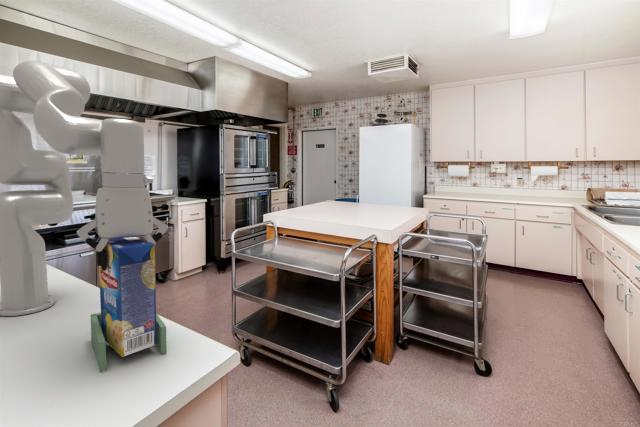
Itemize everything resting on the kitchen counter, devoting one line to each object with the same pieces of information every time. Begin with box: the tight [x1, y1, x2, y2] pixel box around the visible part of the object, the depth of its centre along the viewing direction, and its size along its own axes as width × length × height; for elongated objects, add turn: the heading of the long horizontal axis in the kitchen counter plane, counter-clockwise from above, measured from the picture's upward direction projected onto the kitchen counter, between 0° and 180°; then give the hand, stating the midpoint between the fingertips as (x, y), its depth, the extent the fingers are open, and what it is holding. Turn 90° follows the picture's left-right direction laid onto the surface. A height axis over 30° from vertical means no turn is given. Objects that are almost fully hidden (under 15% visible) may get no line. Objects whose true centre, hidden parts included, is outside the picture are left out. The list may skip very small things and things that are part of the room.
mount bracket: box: [90, 312, 168, 373], centre depth 74 cm, size 15×12×6 cm
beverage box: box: [98, 237, 157, 358], centre depth 72 cm, size 7×11×22 cm, turn 51°
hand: (126, 265), depth 71 cm, fingers closed on beverage box, 7 cm apart
